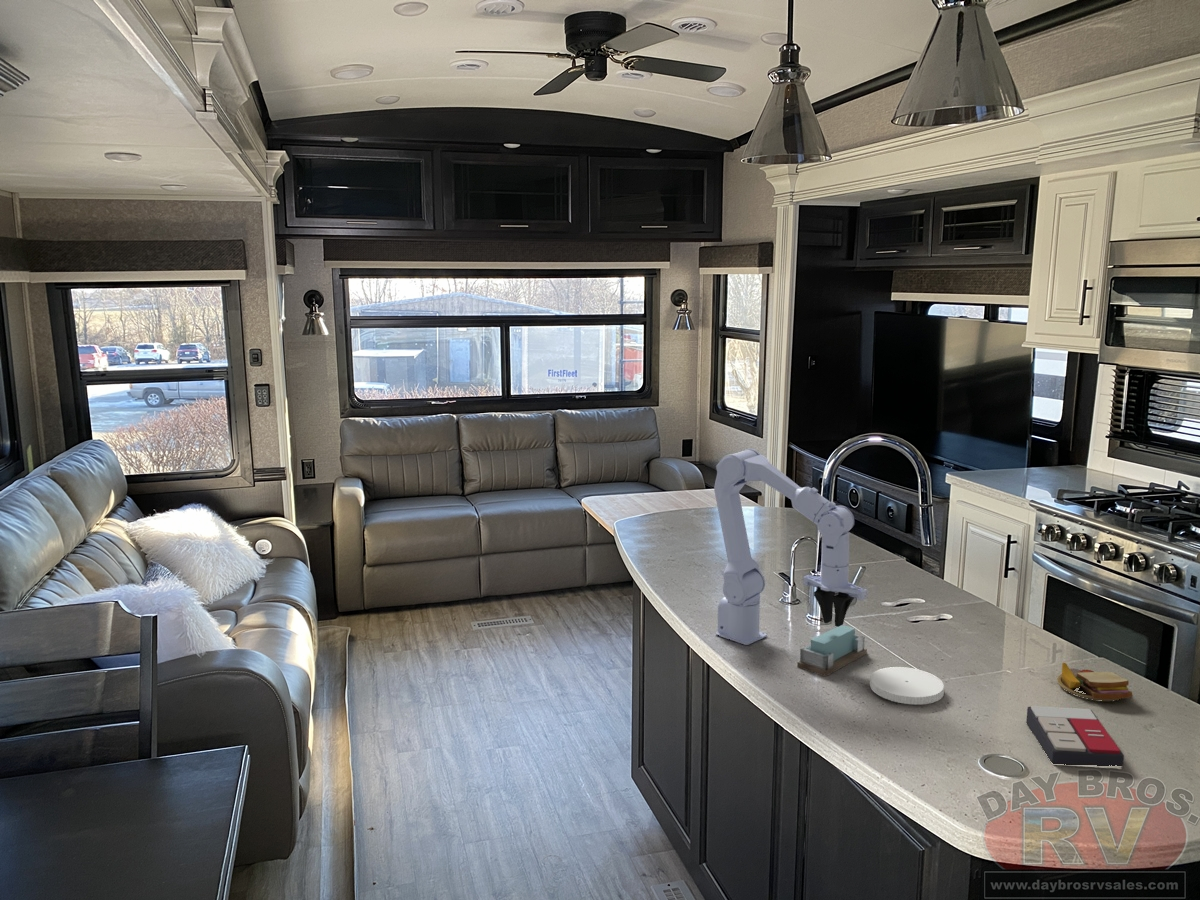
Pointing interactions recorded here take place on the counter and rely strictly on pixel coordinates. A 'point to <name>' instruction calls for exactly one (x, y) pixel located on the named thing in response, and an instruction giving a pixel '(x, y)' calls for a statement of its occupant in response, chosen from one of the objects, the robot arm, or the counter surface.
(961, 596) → the counter surface
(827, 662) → the end caps
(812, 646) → the teal rectangular block
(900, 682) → the plastic lid
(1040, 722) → the calculator
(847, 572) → the robot arm
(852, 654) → the end cap board
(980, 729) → the counter surface
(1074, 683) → the toy sandwich meal
